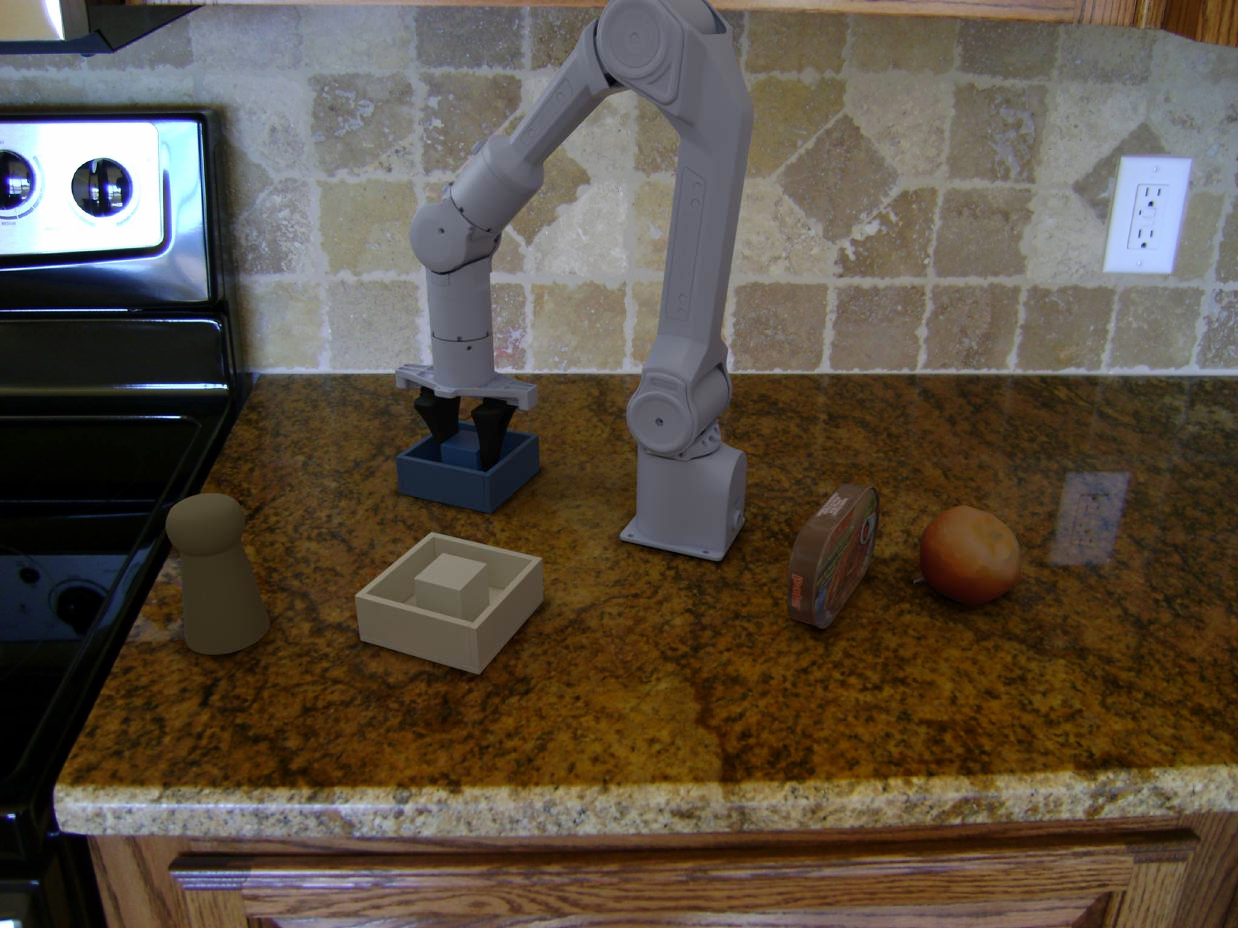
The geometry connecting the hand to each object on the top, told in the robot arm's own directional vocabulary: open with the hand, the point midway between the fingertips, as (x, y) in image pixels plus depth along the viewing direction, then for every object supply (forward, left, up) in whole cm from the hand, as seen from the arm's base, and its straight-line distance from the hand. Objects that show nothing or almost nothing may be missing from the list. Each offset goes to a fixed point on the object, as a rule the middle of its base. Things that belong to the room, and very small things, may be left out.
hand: (470, 464), depth 93 cm
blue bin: (0, 0, -2) cm, 2 cm away
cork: (+4, +29, -2) cm, 29 cm away
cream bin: (-11, +21, -2) cm, 24 cm away
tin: (-37, +6, -2) cm, 38 cm away
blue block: (0, 0, -1) cm, 1 cm away
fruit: (-47, +1, -2) cm, 47 cm away
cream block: (-11, +21, -1) cm, 24 cm away
